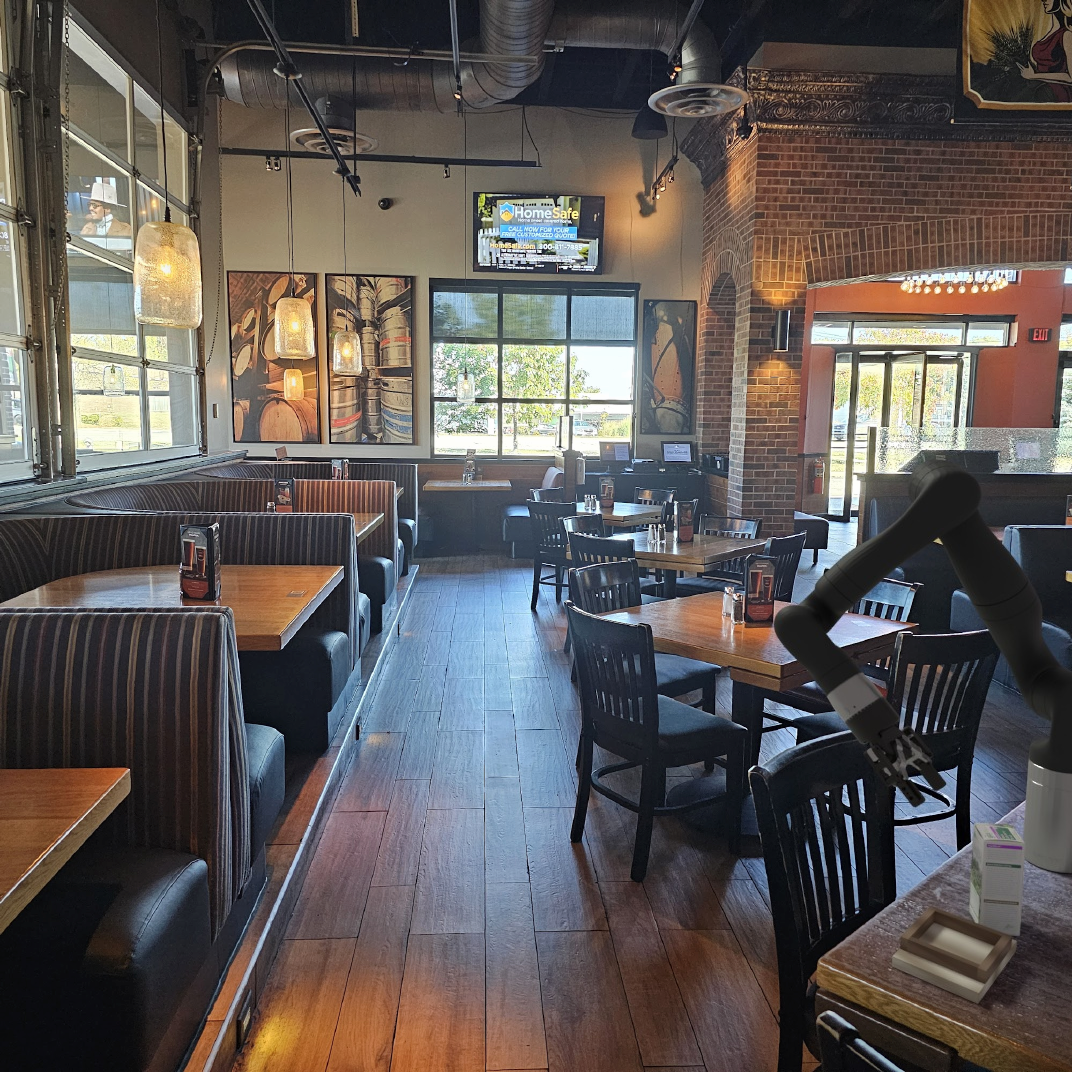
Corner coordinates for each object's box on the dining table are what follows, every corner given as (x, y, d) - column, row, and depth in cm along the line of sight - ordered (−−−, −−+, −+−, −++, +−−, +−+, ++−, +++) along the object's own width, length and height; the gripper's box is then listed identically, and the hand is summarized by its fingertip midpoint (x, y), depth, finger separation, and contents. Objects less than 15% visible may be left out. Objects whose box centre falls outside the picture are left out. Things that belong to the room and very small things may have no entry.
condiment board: (935, 919, 129) (936, 899, 128) (1016, 950, 121) (1017, 928, 121) (891, 966, 118) (893, 943, 117) (977, 1003, 110) (979, 979, 110)
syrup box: (1021, 937, 125) (1028, 842, 123) (977, 932, 126) (984, 838, 124) (1008, 915, 130) (1015, 824, 128) (966, 911, 131) (972, 820, 130)
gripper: (860, 705, 132) (932, 798, 126) (897, 686, 142) (966, 771, 136) (826, 730, 137) (894, 821, 130) (864, 709, 147) (930, 794, 140)
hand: (931, 796), depth 133 cm, fingers open, 8 cm apart
